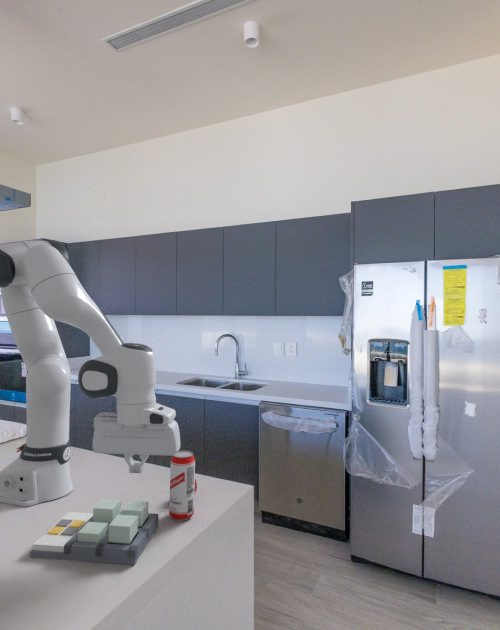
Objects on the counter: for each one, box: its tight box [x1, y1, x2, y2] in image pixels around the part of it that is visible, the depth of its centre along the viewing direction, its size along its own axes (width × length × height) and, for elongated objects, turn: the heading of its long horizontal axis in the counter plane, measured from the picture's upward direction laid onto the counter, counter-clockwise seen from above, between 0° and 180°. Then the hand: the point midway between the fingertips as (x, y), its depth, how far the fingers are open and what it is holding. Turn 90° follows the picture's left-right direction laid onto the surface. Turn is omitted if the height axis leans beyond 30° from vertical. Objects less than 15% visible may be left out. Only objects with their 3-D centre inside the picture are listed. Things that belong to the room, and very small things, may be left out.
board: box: [29, 511, 159, 566], centre depth 88 cm, size 23×15×3 cm
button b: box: [92, 498, 122, 524], centre depth 92 cm, size 5×5×4 cm
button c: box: [108, 515, 138, 544], centre depth 84 cm, size 5×5×4 cm
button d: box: [121, 500, 149, 526], centre depth 91 cm, size 5×5×4 cm
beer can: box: [168, 449, 196, 522], centre depth 100 cm, size 6×6×16 cm
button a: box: [78, 522, 108, 543], centre depth 85 cm, size 5×5×4 cm
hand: (136, 472), depth 91 cm, fingers closed
